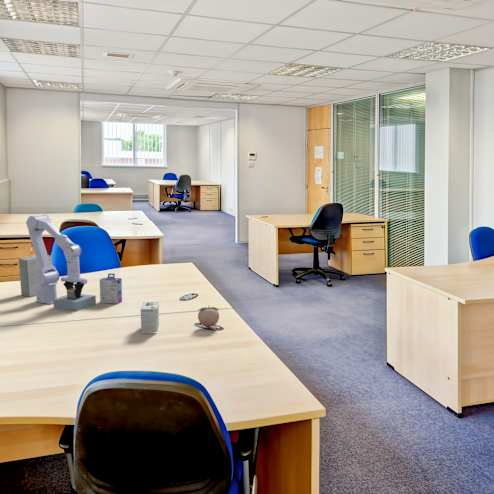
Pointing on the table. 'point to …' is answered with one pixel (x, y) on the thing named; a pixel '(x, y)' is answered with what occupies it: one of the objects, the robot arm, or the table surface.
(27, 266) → the hard drive box
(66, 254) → the robot arm
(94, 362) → the table surface
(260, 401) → the table surface
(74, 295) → the two-tone metal cube
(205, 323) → the decorative fruit
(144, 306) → the light bulb box
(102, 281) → the ink cartridge box
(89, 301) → the well block
